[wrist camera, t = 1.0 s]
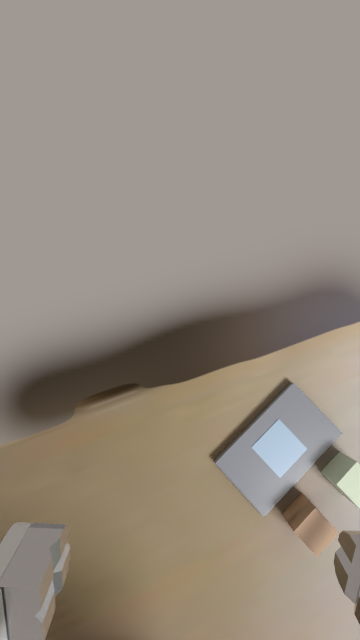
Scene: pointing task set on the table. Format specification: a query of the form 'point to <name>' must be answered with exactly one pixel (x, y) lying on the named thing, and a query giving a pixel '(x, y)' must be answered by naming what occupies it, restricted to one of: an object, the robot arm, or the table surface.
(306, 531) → the walnut cube
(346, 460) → the green cube
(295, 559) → the table surface
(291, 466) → the board
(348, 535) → the robot arm
